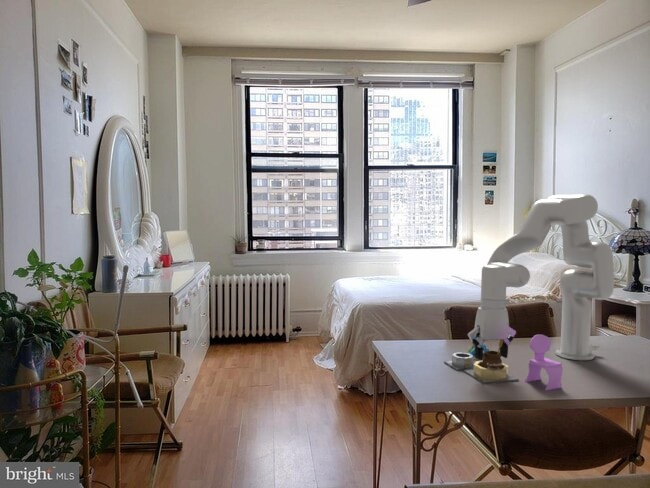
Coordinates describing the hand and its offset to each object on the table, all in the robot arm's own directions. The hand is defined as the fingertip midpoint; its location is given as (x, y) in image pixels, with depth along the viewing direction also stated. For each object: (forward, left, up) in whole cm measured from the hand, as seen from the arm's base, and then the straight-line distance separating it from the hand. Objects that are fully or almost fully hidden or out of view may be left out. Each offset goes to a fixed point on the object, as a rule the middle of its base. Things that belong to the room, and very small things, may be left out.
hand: (491, 357), depth 165 cm
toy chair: (-11, +11, -6) cm, 17 cm away
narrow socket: (+3, -12, -6) cm, 14 cm away
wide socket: (0, 0, -6) cm, 6 cm away
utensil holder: (0, 0, -6) cm, 6 cm away
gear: (-10, -22, -6) cm, 25 cm away
